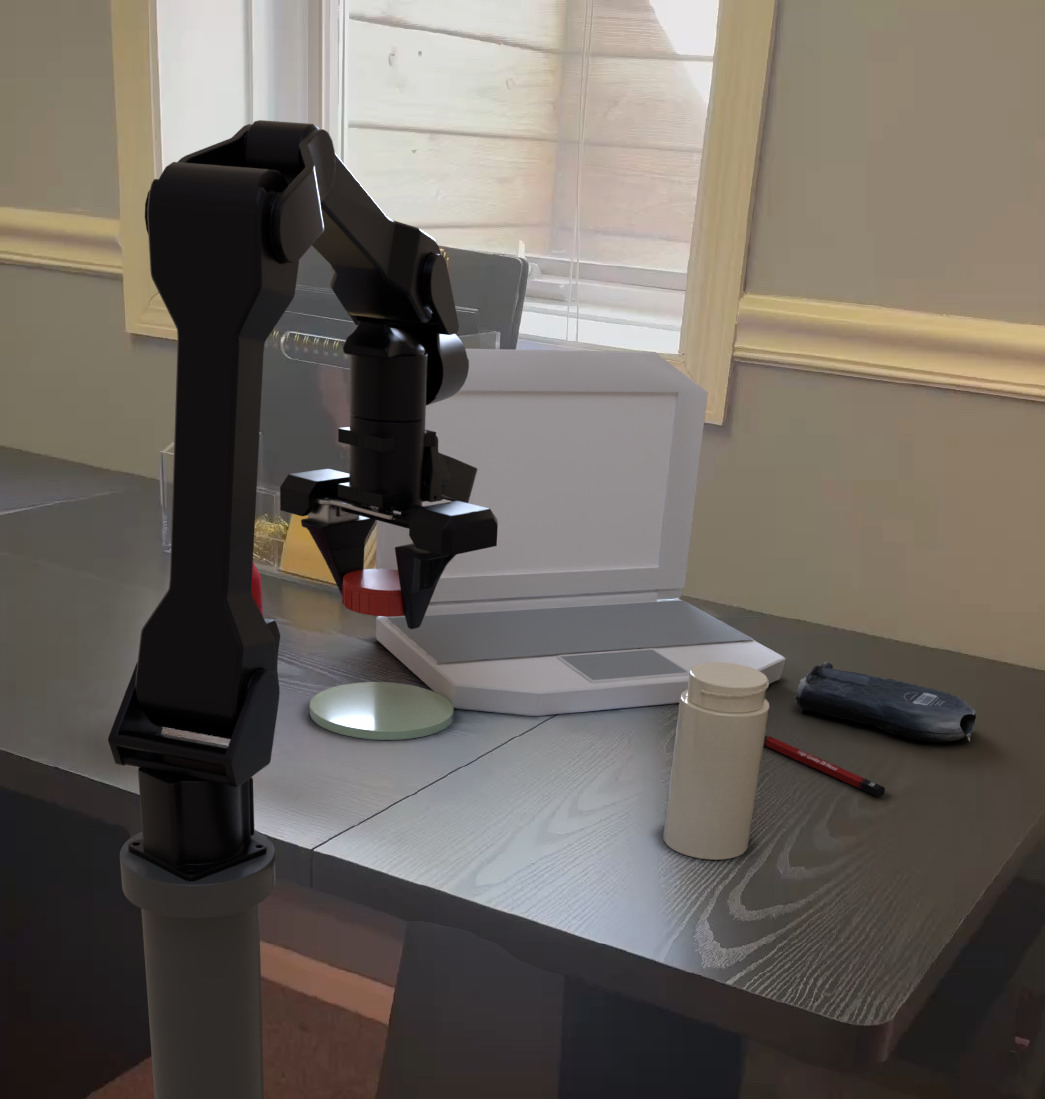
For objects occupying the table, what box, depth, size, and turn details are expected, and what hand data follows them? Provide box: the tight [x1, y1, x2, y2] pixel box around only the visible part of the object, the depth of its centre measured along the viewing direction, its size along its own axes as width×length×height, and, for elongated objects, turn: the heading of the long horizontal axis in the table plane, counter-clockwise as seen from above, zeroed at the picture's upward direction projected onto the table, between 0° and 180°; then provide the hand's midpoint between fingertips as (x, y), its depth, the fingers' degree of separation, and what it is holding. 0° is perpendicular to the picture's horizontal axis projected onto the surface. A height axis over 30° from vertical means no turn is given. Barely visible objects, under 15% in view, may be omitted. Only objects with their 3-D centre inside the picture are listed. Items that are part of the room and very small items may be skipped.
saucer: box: [308, 681, 455, 741], centre depth 118 cm, size 12×12×1 cm
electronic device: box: [794, 660, 977, 743], centre depth 125 cm, size 9×6×15 cm
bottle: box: [662, 663, 770, 861], centre depth 97 cm, size 6×6×12 cm
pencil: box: [764, 735, 886, 798], centre depth 114 cm, size 1×14×1 cm, turn 37°
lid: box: [341, 568, 405, 617], centre depth 114 cm, size 7×7×2 cm
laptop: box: [375, 348, 787, 717], centre depth 127 cm, size 33×24×26 cm
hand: (383, 618), depth 115 cm, fingers closed on lid, 6 cm apart
